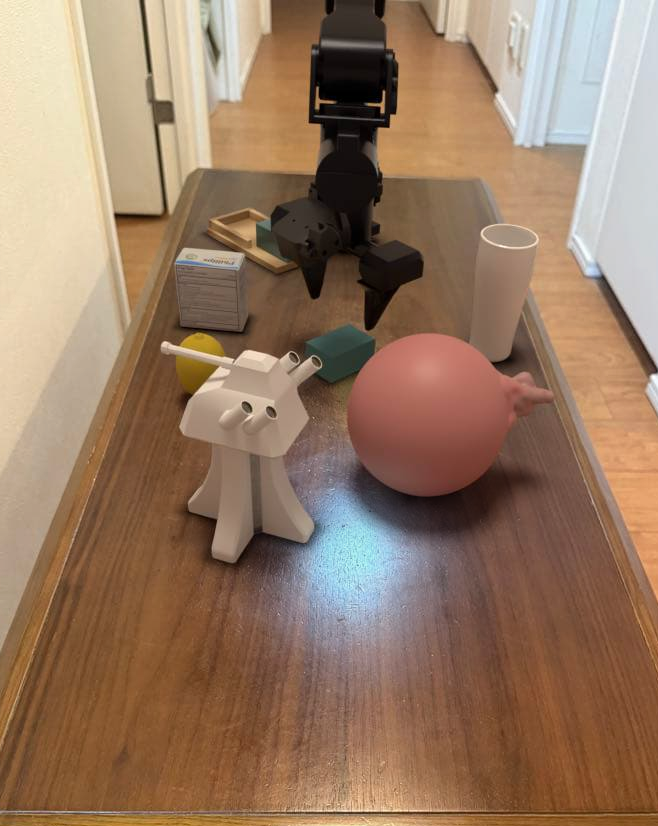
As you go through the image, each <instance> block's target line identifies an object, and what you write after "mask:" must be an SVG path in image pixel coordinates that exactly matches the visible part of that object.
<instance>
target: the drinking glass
mask: <svg viewBox="0 0 658 826" xmlns="http://www.w3.org/2000/svg"><path fill="white" fill-rule="evenodd" d="M539 243H540V238H539V236H538V235H537V234H536V232H534V231H533V230H531V229H530V228H527V227H524V226H521V225H518V224H517V225H516V224H510V223H496V224H495V223H494V224H491V225H487V226H486V227H484V228H482V230H481V231H480V234H479V239H478V243H477V247H476V254H475V262H474V269H473V283H472V284H473V285H472V300H471V301H472V302H471V314H470V315H471V316H470V329H469V338H468V344H470V345H471V346H473V347H474V348H476V349H477V350H478V351H480V352H481V353H482V354H483V355H484V356H485V357H486V358H487V359H488V360H489V361H490V362H491V363H498V362H502V361H504V360H507V359H508V358H509V357H510V355H511V353H512V350H513V349H512V348H513V345H514V339H515V336H516V333H517V329H518V326H519V323H520V319H521V315H522V312H523V309H524V305H525V302H526V298H527V296H528V293H529V288H530V285H531V281H532V278H533V275H534V270H535V266H536V261H537V255H538V248H539Z"/></svg>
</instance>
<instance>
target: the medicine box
mask: <svg viewBox="0 0 658 826" xmlns="http://www.w3.org/2000/svg"><path fill="white" fill-rule="evenodd" d="M246 258H247V257H246V256H245V254H244V253H239V252H237V251H227V250H216V249H206V248H205V249H204V248H194V247H193V248H192V247H183V248H182V249H181V251H180V252H179V254H178V255H177V258H176V259H175V261H174V263H173V268H174V276H175V285H176V294H177V303H178V313H179V320H180V321H179V322H180V323H179V324H180V327H184V328H185V327H186V328H197V329H207V330H218V331H229V332H240V333H242V332H243V331H244V328H245V325H246V322H247V321H248V318H249V315H250V314H249V299H248V298H249V297H248V283H247V282H248V279H247V264H246V263H247V261H246Z"/></svg>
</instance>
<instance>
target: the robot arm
mask: <svg viewBox="0 0 658 826" xmlns="http://www.w3.org/2000/svg"><path fill="white" fill-rule="evenodd" d="M386 2H387V1H386V0H324V12H325V14H326V16H325V17H323V18H322V19H321V20H320V23H319V32H318V33H319V35H318V43H311V49H310V67H309V68H310V69H309V70H310V71H309V72H310V73H309V92H308V93H309V98H308V124H311V125H319V149H318V154H317V162H316V169H315V176H314V177H315V179H314V181H311V182H310V187H308V192H307V193H308V194H307V195H308V196H307V195H306V196H303V197H300V198H297V199H293V200H290V201H286V202H284V203H279V204H277V205H276V206H275V208H274V209H273V210H272V213H271V214H270V215H269V216H270V218H271V232H272V233H273V235H274V238H275V241H276V244H277V246H278V249H279V252H280V255H281V256H282V257H283V258H287V259H289V260H291V261H293V262H294V263H296V264H297V265H298V266H299V267H300V270H301V273H302V276H303V280H304V282H305V286H306V288H307V291H308V294H309V298H310V299H311V300H313V301H315V300H317V299H319V298H320V297H321V293H322V291H323V290H322V289H323V286H324V282H325V276H326V272H327V266H328V260H330V259H331V258H332V257H333V256H335V254H337V253H339V252H342V253H348V254H350V255H352V256H354V257H356V258H358V259H359V260H358V269H357V270H358V273H359V275H360V278H359V279H357V280H356V283H357V285H359V286H360V287H361V288H362V289H363V291H364V300H363V301H364V305H363V306H364V307H363V314H364V315H363V321H364V323H363V324H364V330H365V331H366V332H370V331H372V330H374V329H375V327H376V326H377V324H378V323H379V321H380V319H381V317H382V315H383V314H384V312H385V310H386V309H387V307H388V305H390V302H391V301H392V300H393V297H394V296H395V295H396V293H397V292H398V291H399V289H400V288H401V286H403V285H406V284H408V283H411V282H413V281H416V280H418V279H422V278H423V275H424V267H425V256H424V255H423V254H422V252H420V250H418V249H416V248H415V247H412V246H411V245H409V244H406V243H404V242H402V241H400V240H398V239H394V240H390V241H388V242H385V243H383V244H380V245H378V244H377V243H375V241H376V238H375V237H374V236H376V235H380V234H381V224H380V223H378V222H376V221H375V220H374V219H373V217H374V207H377V204H378V203H381V200H382V199H381V198H382V197H381V196H383V192H384V184H383V177H384V176H383V172H382V170H381V169H380V166H379V161H378V141H379V140H378V139H379V128H381V129H391V116H397V111H398V97H399V96H398V93H399V71H400V69H399V67H400V63H399V62H398V60H397V59H396V52H394V48H387V36H388V35H387V28H388V27H387V24H386V23H385V22H384V21H383V20H382V19H383V18H384V17H385V12H386ZM317 88H318V90H317ZM317 91H318V92H317ZM317 98H318V99H319V100H320V101H323V102H319V103H318V108H316V106H317ZM383 99H384V104H383V105H384V107H383V108H384V109H383V112H382V107H381V106H379V104H382V102H383ZM324 101H325V102H324ZM329 102H332V103H329ZM369 104H373V105H369ZM299 267H298V268H299Z"/></svg>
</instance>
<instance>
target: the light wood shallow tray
mask: <svg viewBox="0 0 658 826" xmlns="http://www.w3.org/2000/svg"><path fill="white" fill-rule="evenodd" d="M206 235H207V236H209V237H211V238H212V239H214V240H216V241H218V242H220V243H222V244H223V245H225V246H227V247H228V248H230V249H232V250H233V251H234V252H238V253H244V254H245V258H247V259H249V260H251V261H253V262H255V263H257V264H258V265H260V266H262V267H263V268H265V269H267V270H269V271H271V272H272V273H274V274H276V275H278V274H279V275H280V274H282V273H285V272H287V271H290V270H293V269H296V268H299V266H298V265H297V264H296V263H294V262H293V261H291V260H289V259H287V258H283V257H282V256H281V255H280V252H279V249H278V246H277V244H276V241H275V238H274V235H273V233H272V232H271V217H269V216H267V215H266V214H263V213H261V212H259V211H258V210H255V209H253V208H252V207H247V208H246V207H245V208H242V209H239V210H236V211H232V212H229V213H226V214H222V215H219V216H215V217H213V218H209V219H208V227H206Z"/></svg>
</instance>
